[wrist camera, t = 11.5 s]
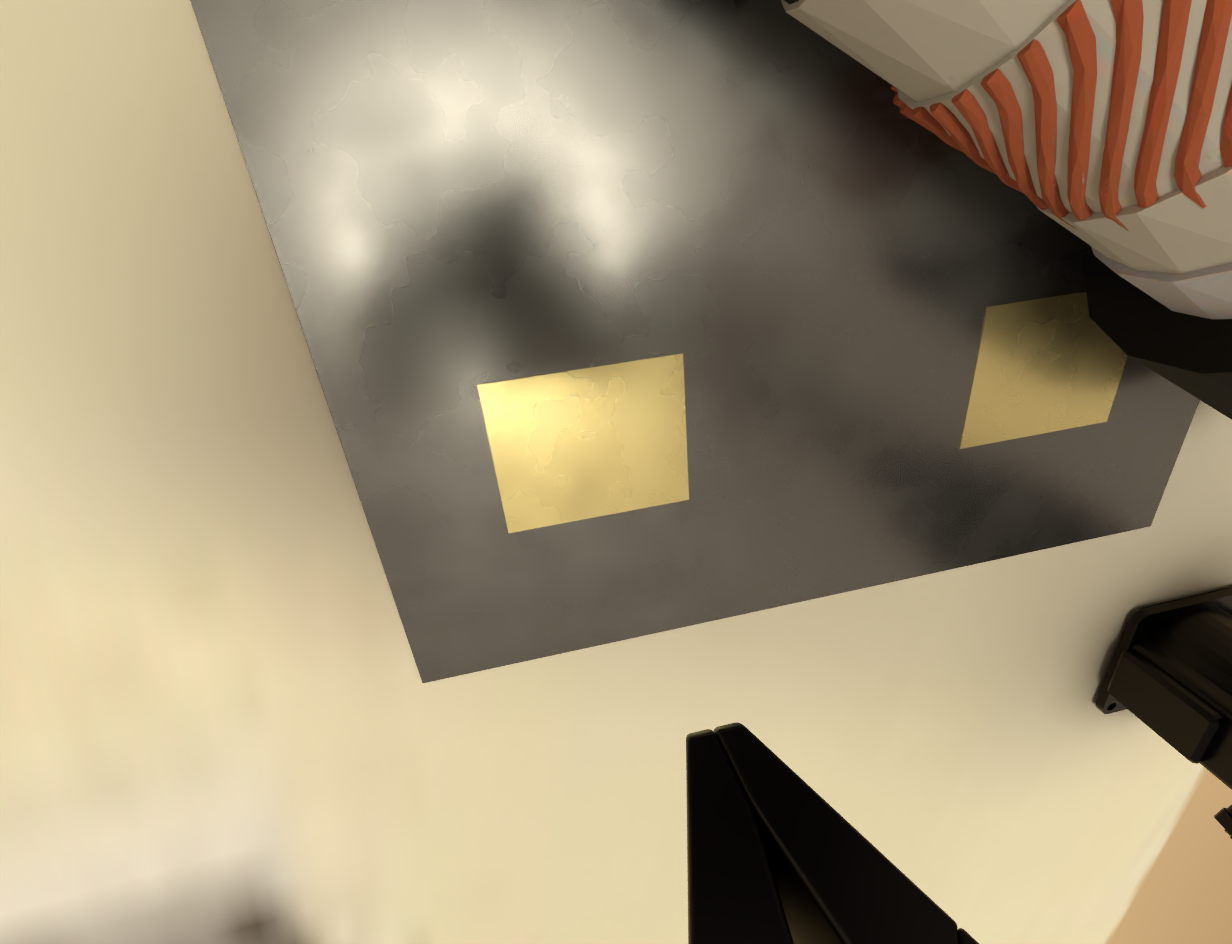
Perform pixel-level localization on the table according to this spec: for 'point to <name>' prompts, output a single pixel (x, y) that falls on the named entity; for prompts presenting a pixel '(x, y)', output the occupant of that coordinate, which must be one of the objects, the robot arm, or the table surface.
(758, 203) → the plate
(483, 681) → the table surface
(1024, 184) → the banded tapered cylinder
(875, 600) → the table surface
